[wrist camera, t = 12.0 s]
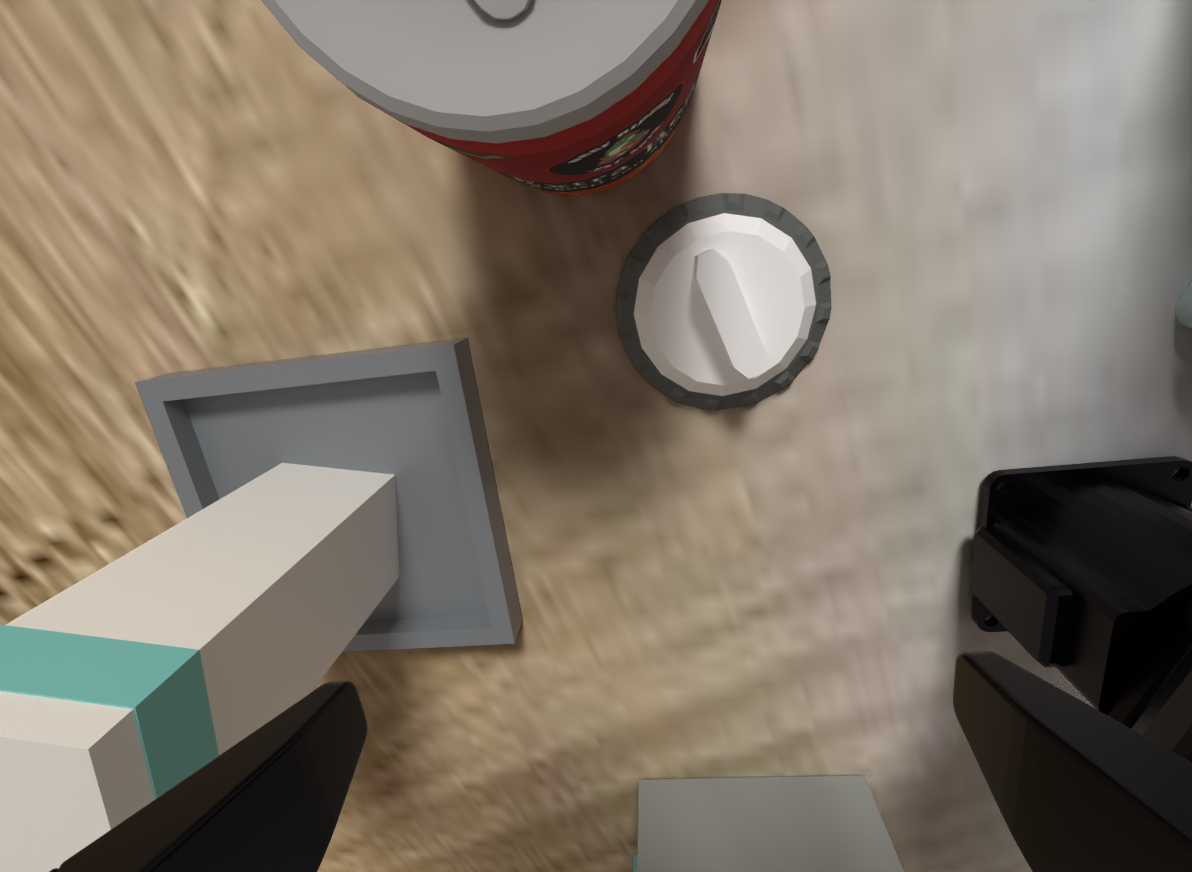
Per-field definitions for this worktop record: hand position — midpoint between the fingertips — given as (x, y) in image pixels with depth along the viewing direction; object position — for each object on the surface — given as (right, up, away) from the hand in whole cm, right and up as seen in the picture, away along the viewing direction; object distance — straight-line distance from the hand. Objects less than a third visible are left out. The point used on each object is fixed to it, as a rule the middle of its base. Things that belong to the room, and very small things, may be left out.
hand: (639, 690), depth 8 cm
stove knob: (+4, +8, +11) cm, 15 cm away
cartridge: (-11, 0, +14) cm, 18 cm away
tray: (-10, +1, +14) cm, 18 cm away
